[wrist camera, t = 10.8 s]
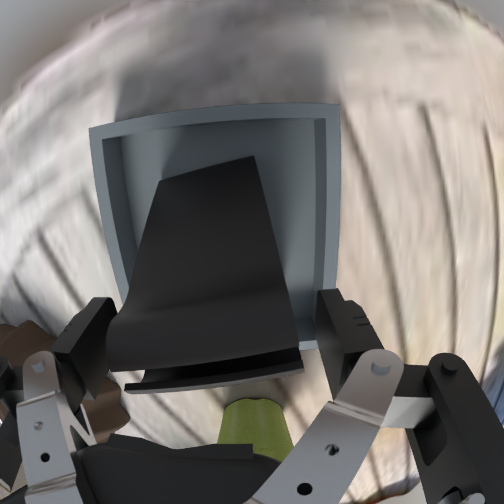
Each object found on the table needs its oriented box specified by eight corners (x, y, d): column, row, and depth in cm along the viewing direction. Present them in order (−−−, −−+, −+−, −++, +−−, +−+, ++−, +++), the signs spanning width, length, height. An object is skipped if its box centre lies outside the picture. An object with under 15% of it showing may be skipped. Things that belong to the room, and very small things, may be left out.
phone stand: (160, 179, 18) (48, 259, 7) (255, 154, 17) (272, 200, 6) (200, 301, 21) (170, 448, 10) (283, 284, 21) (315, 433, 10)
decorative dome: (156, 436, 30) (143, 503, 21) (47, 422, 31) (26, 469, 22) (81, 314, 23) (29, 394, 14) (-24, 321, 24) (-65, 368, 15)
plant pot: (316, 409, 28) (330, 477, 20) (253, 442, 30) (255, 504, 22) (253, 372, 25) (257, 454, 17) (190, 412, 28) (181, 482, 20)
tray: (322, 108, 17) (339, 104, 14) (318, 318, 23) (328, 347, 20) (113, 127, 17) (88, 128, 14) (150, 326, 23) (139, 354, 20)
